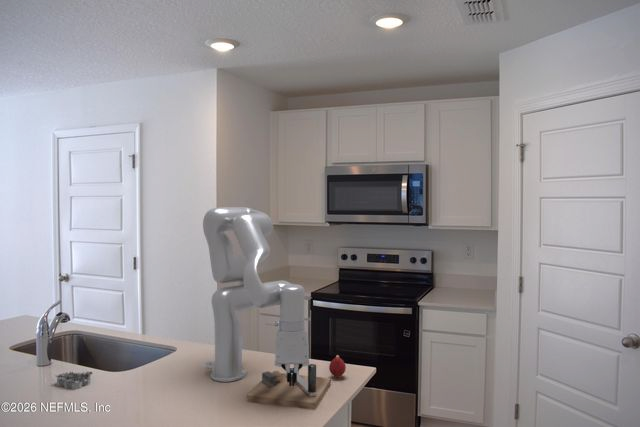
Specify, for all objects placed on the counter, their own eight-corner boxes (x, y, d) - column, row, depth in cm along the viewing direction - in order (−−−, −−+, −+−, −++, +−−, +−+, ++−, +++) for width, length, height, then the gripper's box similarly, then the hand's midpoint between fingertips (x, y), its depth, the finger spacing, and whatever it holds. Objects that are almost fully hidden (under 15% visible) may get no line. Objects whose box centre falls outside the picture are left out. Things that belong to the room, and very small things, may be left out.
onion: (344, 381, 161) (344, 358, 160) (327, 380, 162) (327, 357, 162) (346, 375, 166) (346, 353, 166) (330, 374, 168) (330, 352, 167)
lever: (284, 374, 161) (284, 348, 161) (296, 372, 163) (296, 346, 163) (307, 397, 142) (307, 367, 142) (320, 395, 144) (320, 365, 144)
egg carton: (94, 383, 159) (94, 371, 159) (74, 391, 152) (74, 379, 152) (73, 378, 164) (73, 366, 164) (52, 385, 157) (52, 373, 157)
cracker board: (247, 401, 145) (247, 383, 145) (270, 377, 164) (270, 361, 164) (315, 409, 139) (315, 391, 139) (330, 384, 159) (330, 367, 158)
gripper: (267, 329, 139) (266, 389, 139) (317, 328, 140) (316, 388, 140) (268, 322, 146) (268, 380, 147) (315, 321, 147) (315, 379, 148)
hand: (291, 384), depth 143 cm, fingers closed
